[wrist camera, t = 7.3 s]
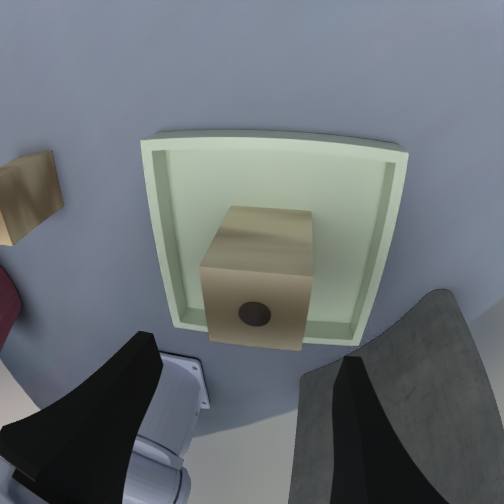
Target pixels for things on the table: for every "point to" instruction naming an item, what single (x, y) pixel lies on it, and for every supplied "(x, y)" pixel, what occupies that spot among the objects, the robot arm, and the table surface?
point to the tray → (281, 197)
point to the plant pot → (7, 306)
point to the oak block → (27, 195)
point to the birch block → (259, 278)
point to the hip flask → (414, 408)
